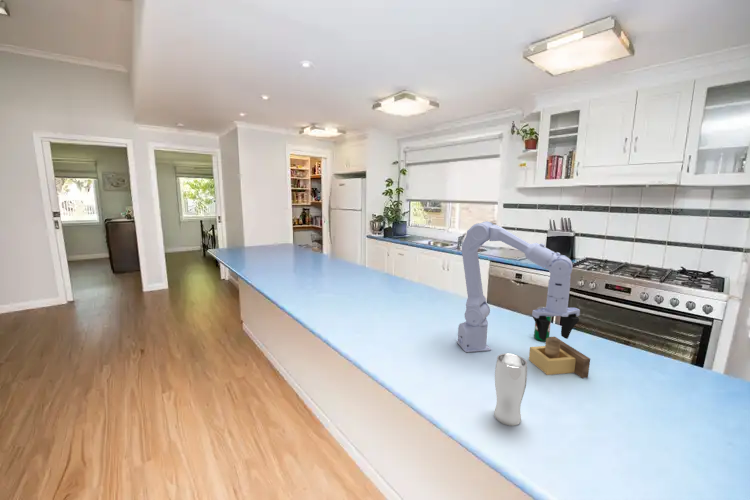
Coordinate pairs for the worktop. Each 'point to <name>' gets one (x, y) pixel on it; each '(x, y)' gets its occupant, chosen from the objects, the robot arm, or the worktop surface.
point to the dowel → (552, 348)
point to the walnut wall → (577, 359)
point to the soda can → (536, 334)
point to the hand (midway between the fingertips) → (553, 338)
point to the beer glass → (509, 388)
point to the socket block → (552, 361)
